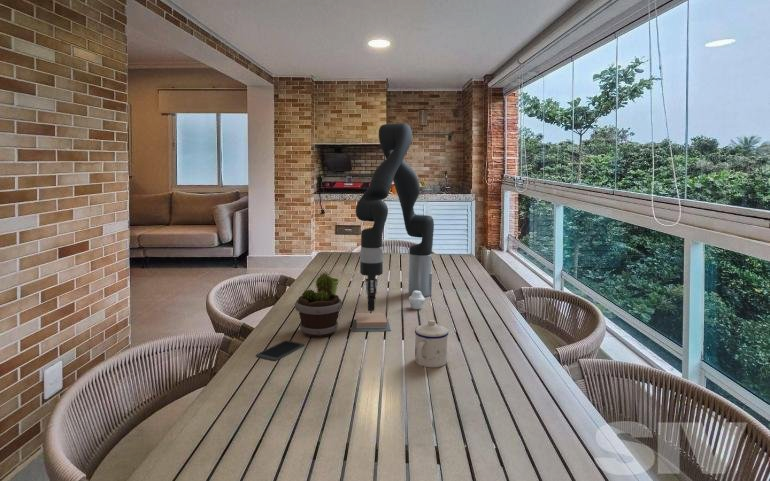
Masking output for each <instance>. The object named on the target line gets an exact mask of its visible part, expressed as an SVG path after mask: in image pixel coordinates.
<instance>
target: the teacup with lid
mask: <svg viewBox="0 0 770 481" xmlns="http://www.w3.org/2000/svg"><path fill="white" fill-rule="evenodd" d="M427 321H428V322H426V323H424V324H421V325H418V326H417V327H416V328H415V330H414V333H415V339H414V340H415V343H414V344H415V346H414V347H415V348H414V349H415V350H414V361H415V363H416V364H417V365H419V366H421V367H425V368H440V367H443V366H444V365H446V364H447V359H448V358H447V357H448V336H449V330H448V328H446V327H445V326H442V325H440V324H438V323H436V322H437V321H436V320H434V319H429V320H427Z"/></svg>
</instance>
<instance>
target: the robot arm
mask: <svg viewBox="0 0 770 481" xmlns="http://www.w3.org/2000/svg"><path fill="white" fill-rule="evenodd" d="M378 140H379V145H380V147H381V150H382V153H383V154H384V158H385V159H384V160H383V161H382V162H381V163H380V164H379V165H378V166H377V168H376V169H375V170H374V172H373V175H372V177H371V180H370V182H369V186H368V188H367V189H366V190H365V192H364V193H363V195H362V196H361V197H360V198H359V200H358V201H357V204H356V206H355V215H356V218H357V219H358V220H359V221H362V222H373V225H372V227H369V228H364V229H362V230H361V233H360V254H359V255H360V256H359V257H360V258H359V259H360V260H359V264H360V265H359V266H360V267H359V269H360V270H359V273H360V275H363V276H364V277H365V276H367V278H365V282H364V283H365V294H366V295H367V296H366V299H367V310H368V312H374V311H375V305H376V304H375V301H376V299H377V298H376V295H377V288H378V279H377V278H376V276H380V275H383V272H384V271H383V269H384V266H383V265H384V264H383V263H384V251H383V233H384V228H385V225H386V222H387V218H388V216H389V208H388V205H387V203H386V201H383V200H385V199H386V198H387V197H388V196H389V193H390V190H391V187H392V185H394V189H395V192H396V194H397V197H398V200H399V205H400V207H401V211H402V216H403V222H404V223H403V224H404V227H405V231H406V233H407V235H408V236H410V237H412V238H421V241H420V242H419V243H417V244H414V245H411V246H409V250H408V251H409V254H408V255H409V256H408V258H409V259H408V295H410V296H411V295H412V292H413V291H420V292H421V293H422V296H423V297H424V298H425V297H432V295H433V294H432V292H433V291H432V290H433V289H432V287H433V273H432V254H433V245H434V244H433V243H434V232H435V222H434V218H433V217H432V216H431V215H426V214H425V215H424V214H416V212H415V210H414V207H415V204H416V202H417V201H418V198H419V196H420V192H421V186H420V182H419V178H418V175H417V172H415V170H414V169H413V167H412V166H410V165H409V164H408V163H407V162H406V161H405V160H404V158H405V156H406V154H407V153H408V151H409V149H410V147H411V145H412V140H413V131H412V128H411V126H410V125H409V124H408V123H401V122H400V123H399V122H398V123H386V124H385V123H384V124H381V126H379V129H378Z"/></svg>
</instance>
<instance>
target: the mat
mask: <svg viewBox="0 0 770 481" xmlns="http://www.w3.org/2000/svg"><path fill="white" fill-rule="evenodd" d="M386 320H387V328H357V327H356V318H355V319H353V320H352V324H353V332H357V333H358V332H391V331H392V330H391V326H390V323H389V319H388V318H386Z"/></svg>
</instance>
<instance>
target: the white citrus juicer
mask: <svg viewBox="0 0 770 481" xmlns="http://www.w3.org/2000/svg"><path fill="white" fill-rule="evenodd" d="M425 301H426V298H425V297H423V296H422V293H421V292H420V291H413V292H412V295H410V296H409V297H408V302H409V305H410V306H411V307H410V308H412V309H413V310H421V309H422V307H423V305H424V303H425Z"/></svg>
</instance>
